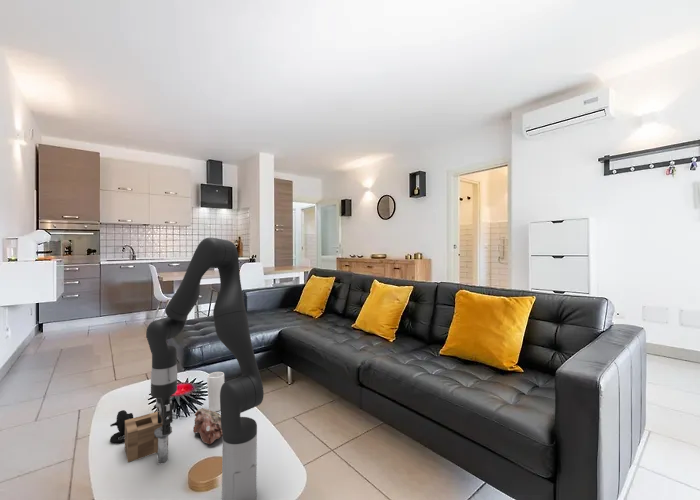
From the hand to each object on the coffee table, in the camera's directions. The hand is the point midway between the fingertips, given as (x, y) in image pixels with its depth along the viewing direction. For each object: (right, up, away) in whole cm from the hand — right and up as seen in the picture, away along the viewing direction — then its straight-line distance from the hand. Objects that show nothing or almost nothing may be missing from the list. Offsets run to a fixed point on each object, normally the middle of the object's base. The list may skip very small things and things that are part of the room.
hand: (163, 428), depth 107 cm
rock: (+9, -11, +15) cm, 20 cm away
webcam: (-22, -10, +12) cm, 27 cm away
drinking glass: (+3, -10, +33) cm, 35 cm away
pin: (0, -11, 0) cm, 11 cm away
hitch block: (-10, -10, +6) cm, 16 cm away
